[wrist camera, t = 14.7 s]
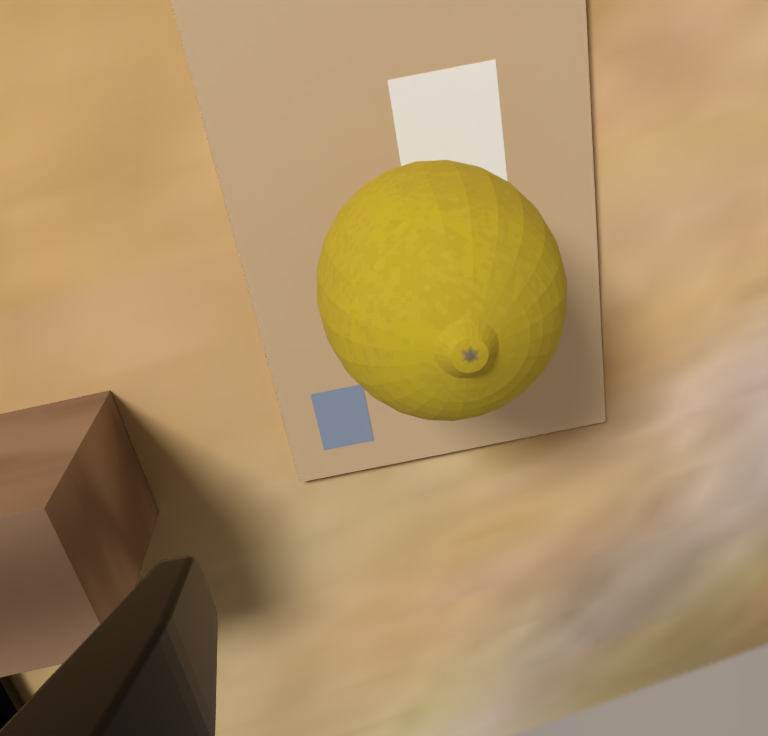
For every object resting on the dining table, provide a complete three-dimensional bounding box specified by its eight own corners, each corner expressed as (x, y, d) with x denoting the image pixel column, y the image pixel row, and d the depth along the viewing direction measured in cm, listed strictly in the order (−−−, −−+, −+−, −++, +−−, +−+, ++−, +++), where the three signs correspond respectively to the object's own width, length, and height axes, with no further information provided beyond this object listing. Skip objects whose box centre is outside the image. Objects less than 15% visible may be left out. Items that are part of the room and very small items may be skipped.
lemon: (548, 186, 20) (680, 273, 13) (461, 358, 22) (532, 519, 15) (362, 103, 19) (389, 148, 11) (287, 295, 21) (271, 436, 13)
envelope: (602, 417, 24) (605, 422, 23) (299, 477, 23) (299, 482, 23) (577, -79, 18) (582, -81, 17) (172, -2, 17) (169, -2, 17)
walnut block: (159, 510, 24) (114, 652, 18) (23, 539, 24) (-62, 690, 18) (110, 390, 22) (43, 508, 16) (-37, 421, 22) (-153, 551, 16)
